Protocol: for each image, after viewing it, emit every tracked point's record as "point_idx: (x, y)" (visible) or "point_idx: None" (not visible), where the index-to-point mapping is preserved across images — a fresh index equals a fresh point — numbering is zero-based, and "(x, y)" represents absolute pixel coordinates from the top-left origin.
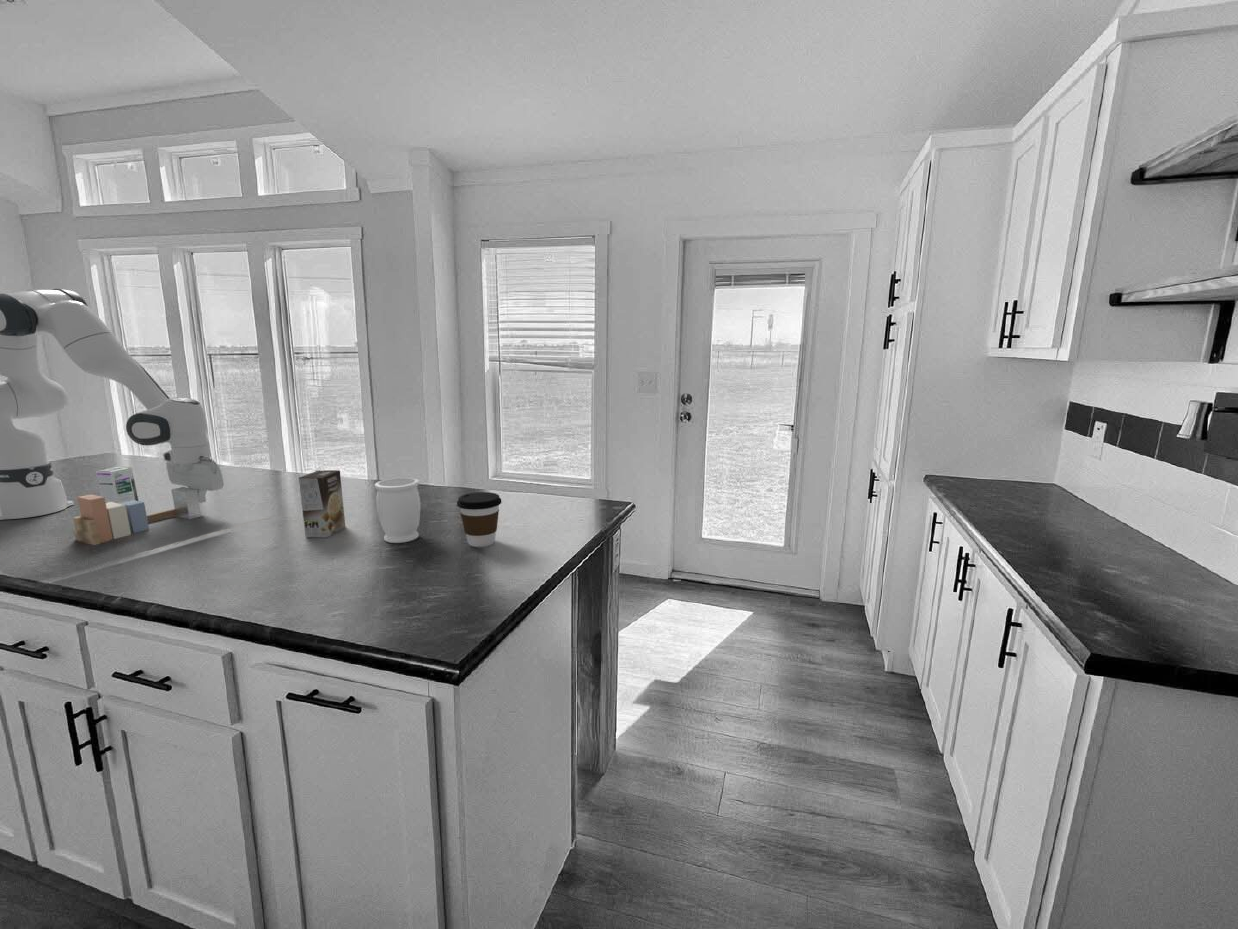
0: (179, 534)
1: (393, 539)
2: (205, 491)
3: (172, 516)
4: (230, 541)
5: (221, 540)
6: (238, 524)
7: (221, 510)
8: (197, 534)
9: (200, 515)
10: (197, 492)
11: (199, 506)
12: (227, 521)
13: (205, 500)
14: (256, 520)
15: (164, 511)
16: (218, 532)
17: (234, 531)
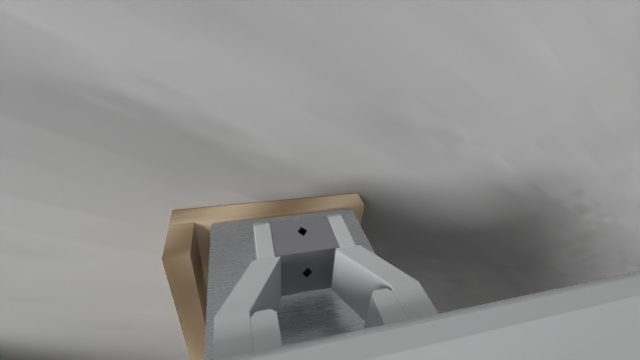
0: (426, 292)
1: None
2: (405, 283)
3: (203, 280)
4: (621, 239)
5: (592, 248)
6: (562, 144)
7: (225, 6)
8: (484, 265)
9: (354, 216)
10: (269, 291)
11: (374, 253)
12: (483, 143)
13: (341, 217)
14: (618, 65)
15: (194, 334)
16: (540, 225)
17: (590, 195)
